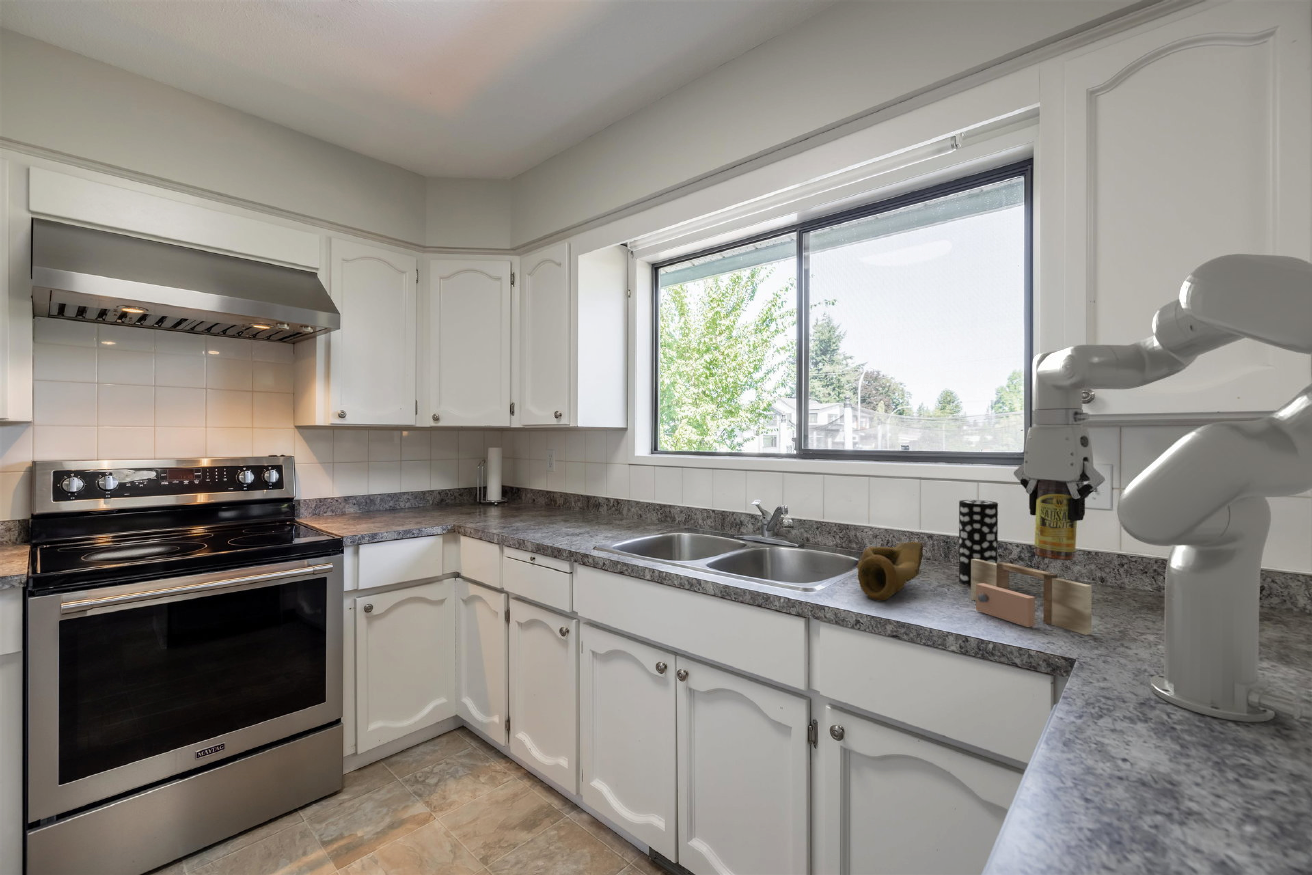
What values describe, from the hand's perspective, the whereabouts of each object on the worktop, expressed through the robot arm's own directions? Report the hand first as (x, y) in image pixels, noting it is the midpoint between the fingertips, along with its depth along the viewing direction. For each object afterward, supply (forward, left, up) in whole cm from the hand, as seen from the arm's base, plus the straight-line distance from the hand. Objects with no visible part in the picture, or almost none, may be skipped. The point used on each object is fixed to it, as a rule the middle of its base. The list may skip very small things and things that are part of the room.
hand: (1055, 516), depth 106 cm
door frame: (+10, -6, -22) cm, 25 cm away
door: (+10, 0, -22) cm, 24 cm away
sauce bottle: (0, 0, -8) cm, 8 cm away
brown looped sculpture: (+36, +4, -22) cm, 43 cm away
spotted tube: (+31, -19, -22) cm, 43 cm away
